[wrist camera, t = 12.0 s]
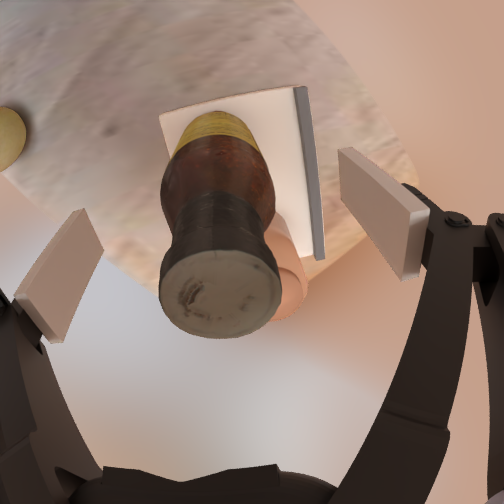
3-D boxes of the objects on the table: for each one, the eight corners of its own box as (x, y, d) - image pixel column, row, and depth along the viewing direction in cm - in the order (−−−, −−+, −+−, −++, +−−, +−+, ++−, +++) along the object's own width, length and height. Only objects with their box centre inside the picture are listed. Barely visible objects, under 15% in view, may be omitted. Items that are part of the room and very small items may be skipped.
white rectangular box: (163, 112, 26) (155, 118, 23) (298, 84, 25) (308, 86, 22) (208, 263, 36) (207, 282, 33) (317, 241, 35) (326, 258, 32)
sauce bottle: (169, 135, 25) (69, 269, 8) (228, 95, 23) (235, 146, 7) (210, 189, 28) (196, 375, 11) (267, 154, 26) (339, 311, 10)
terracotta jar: (223, 214, 30) (224, 277, 21) (283, 202, 29) (308, 260, 21) (236, 262, 33) (242, 332, 25) (290, 251, 33) (313, 317, 24)
